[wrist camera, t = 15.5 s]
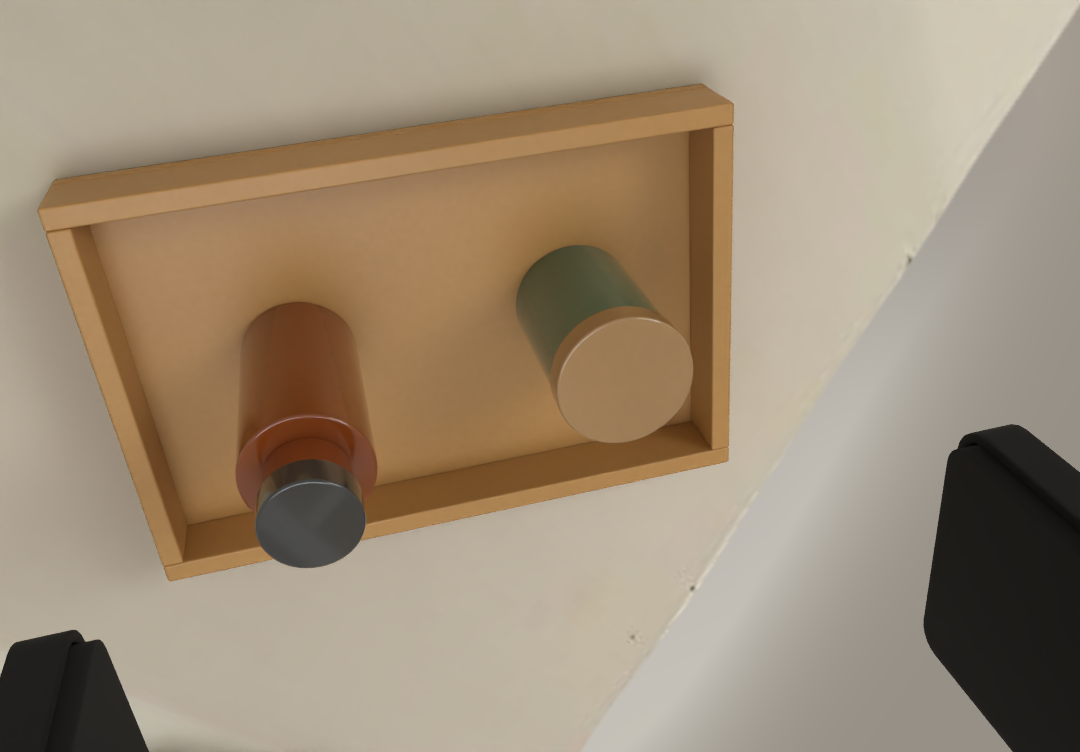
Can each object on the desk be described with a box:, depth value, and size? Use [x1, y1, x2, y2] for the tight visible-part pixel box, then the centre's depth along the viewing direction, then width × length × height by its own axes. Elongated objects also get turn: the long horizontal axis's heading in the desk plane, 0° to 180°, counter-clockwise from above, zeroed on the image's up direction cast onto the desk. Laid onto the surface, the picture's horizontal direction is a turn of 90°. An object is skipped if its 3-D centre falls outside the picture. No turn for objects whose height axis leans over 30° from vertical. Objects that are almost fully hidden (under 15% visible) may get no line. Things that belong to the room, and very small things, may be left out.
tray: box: [38, 84, 734, 581], centre depth 39 cm, size 16×24×3 cm, turn 95°
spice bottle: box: [235, 302, 378, 568], centre depth 34 cm, size 4×4×11 cm
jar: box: [516, 245, 693, 443], centre depth 38 cm, size 5×5×7 cm
